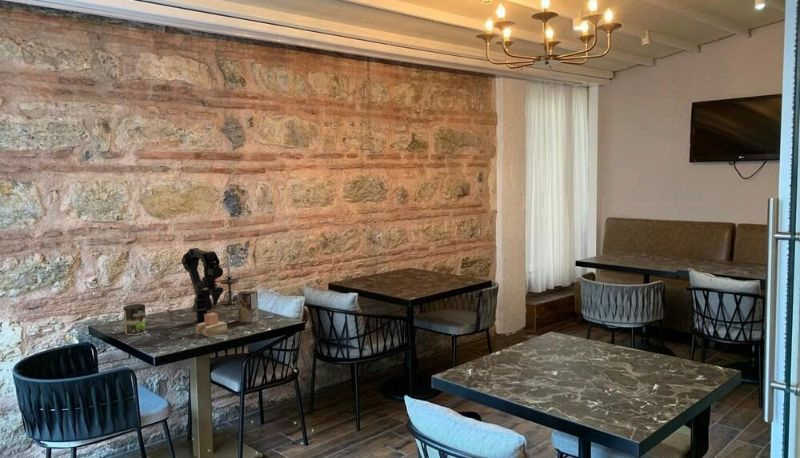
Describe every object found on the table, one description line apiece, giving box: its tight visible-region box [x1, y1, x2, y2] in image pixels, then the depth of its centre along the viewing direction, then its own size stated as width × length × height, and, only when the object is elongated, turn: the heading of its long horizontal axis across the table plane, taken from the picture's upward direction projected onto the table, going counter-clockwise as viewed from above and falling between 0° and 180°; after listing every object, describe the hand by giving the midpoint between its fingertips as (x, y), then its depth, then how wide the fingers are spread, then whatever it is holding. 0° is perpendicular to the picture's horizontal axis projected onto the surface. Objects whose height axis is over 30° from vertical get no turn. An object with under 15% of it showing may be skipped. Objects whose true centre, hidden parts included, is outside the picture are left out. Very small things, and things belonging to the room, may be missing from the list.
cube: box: [204, 312, 219, 326], centre depth 296 cm, size 5×5×5 cm
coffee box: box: [237, 290, 260, 323], centre depth 318 cm, size 9×6×16 cm
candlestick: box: [219, 248, 239, 306], centre depth 358 cm, size 11×11×35 cm
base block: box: [195, 320, 228, 338], centre depth 297 cm, size 11×11×5 cm
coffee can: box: [123, 303, 148, 336], centre depth 297 cm, size 10×10×14 cm
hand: (211, 303), depth 308 cm, fingers open, 9 cm apart
